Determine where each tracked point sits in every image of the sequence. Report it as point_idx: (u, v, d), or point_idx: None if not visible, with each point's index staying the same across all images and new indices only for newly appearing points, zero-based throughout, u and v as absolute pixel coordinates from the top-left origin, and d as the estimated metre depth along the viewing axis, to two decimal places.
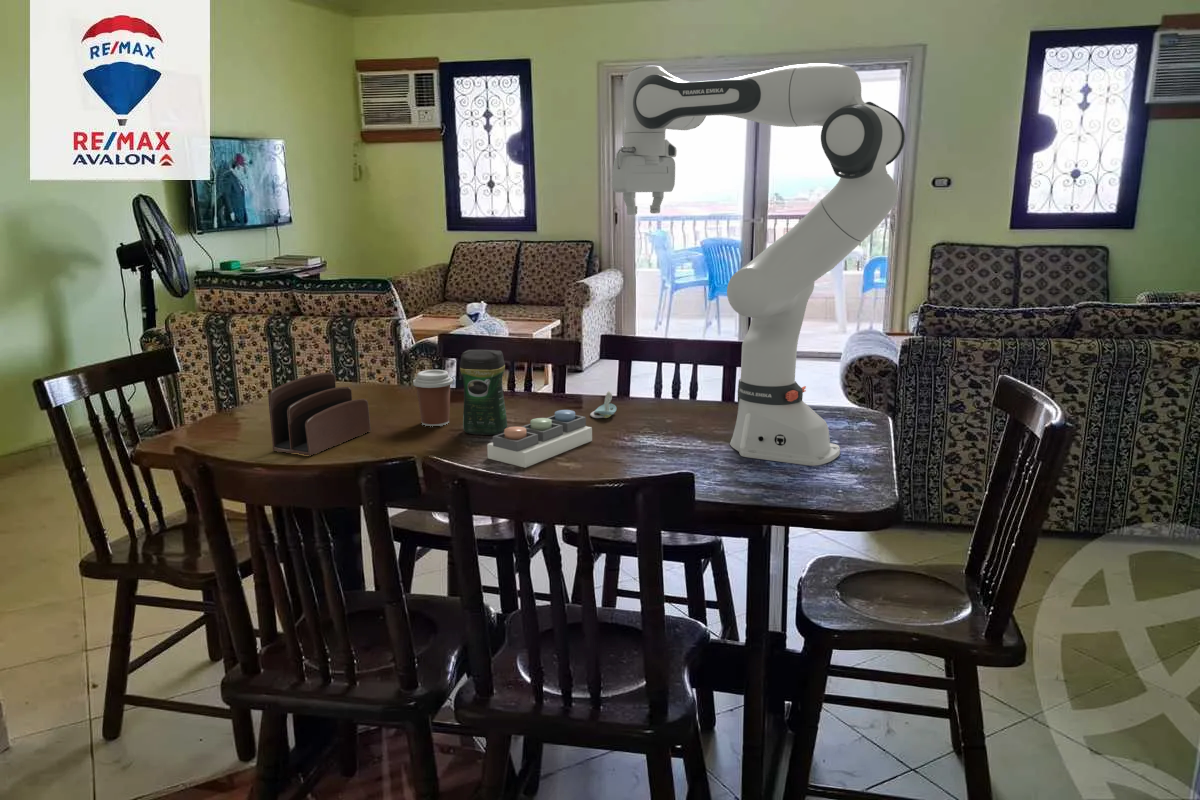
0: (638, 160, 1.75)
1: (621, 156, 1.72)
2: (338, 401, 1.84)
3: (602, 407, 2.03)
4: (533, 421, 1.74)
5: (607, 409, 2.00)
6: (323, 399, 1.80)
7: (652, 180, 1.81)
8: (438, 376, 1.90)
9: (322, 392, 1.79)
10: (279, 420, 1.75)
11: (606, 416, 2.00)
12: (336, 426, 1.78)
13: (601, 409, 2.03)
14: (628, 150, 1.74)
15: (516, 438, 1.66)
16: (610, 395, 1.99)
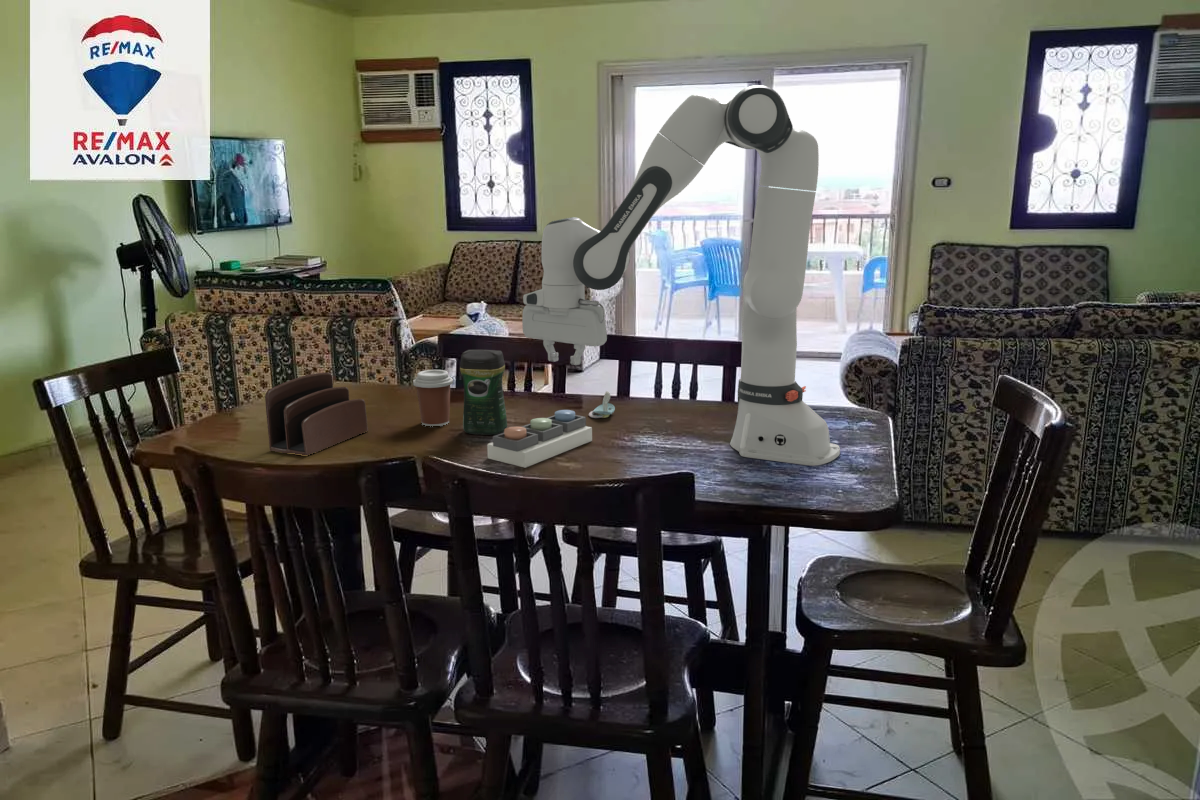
0: None
1: None
2: (335, 401, 1.84)
3: (600, 407, 2.03)
4: (533, 421, 1.74)
5: (605, 409, 2.00)
6: (320, 399, 1.80)
7: None
8: (438, 376, 1.90)
9: (319, 392, 1.79)
10: (276, 420, 1.75)
11: (604, 416, 2.00)
12: (333, 426, 1.78)
13: (599, 409, 2.03)
14: None
15: (516, 438, 1.66)
16: (608, 395, 1.99)
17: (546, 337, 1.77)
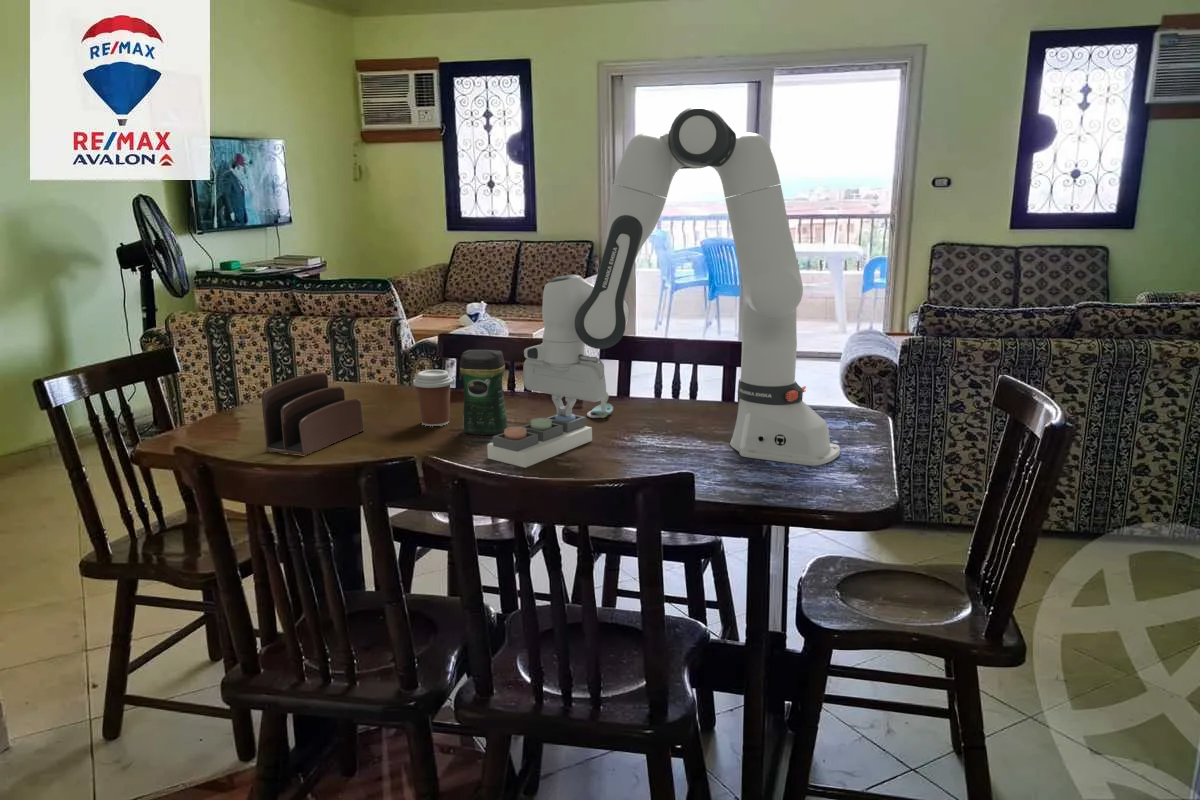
0: None
1: None
2: (331, 401, 1.85)
3: (599, 407, 2.04)
4: (533, 421, 1.74)
5: (604, 409, 2.00)
6: (316, 399, 1.80)
7: None
8: (438, 376, 1.90)
9: (315, 392, 1.79)
10: (272, 420, 1.75)
11: (603, 416, 2.00)
12: (329, 426, 1.78)
13: (598, 409, 2.03)
14: None
15: (516, 438, 1.66)
16: (606, 395, 1.99)
17: (546, 390, 1.80)
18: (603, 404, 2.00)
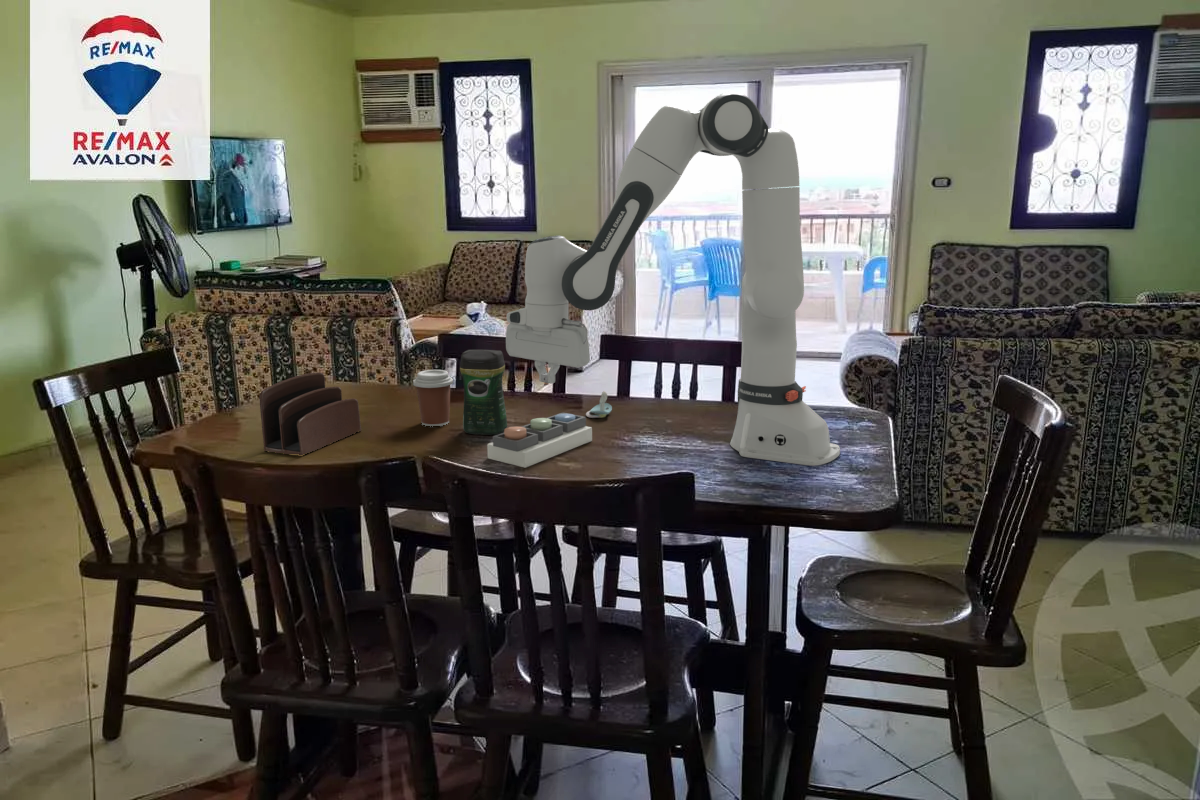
0: None
1: None
2: (328, 401, 1.85)
3: (597, 407, 2.04)
4: (533, 421, 1.74)
5: (602, 409, 2.00)
6: (314, 399, 1.80)
7: None
8: (438, 376, 1.90)
9: (313, 392, 1.80)
10: (270, 420, 1.75)
11: (601, 416, 2.00)
12: (327, 426, 1.78)
13: (596, 409, 2.03)
14: None
15: (516, 438, 1.66)
16: (605, 395, 1.99)
17: (529, 356, 1.74)
18: (602, 404, 2.00)
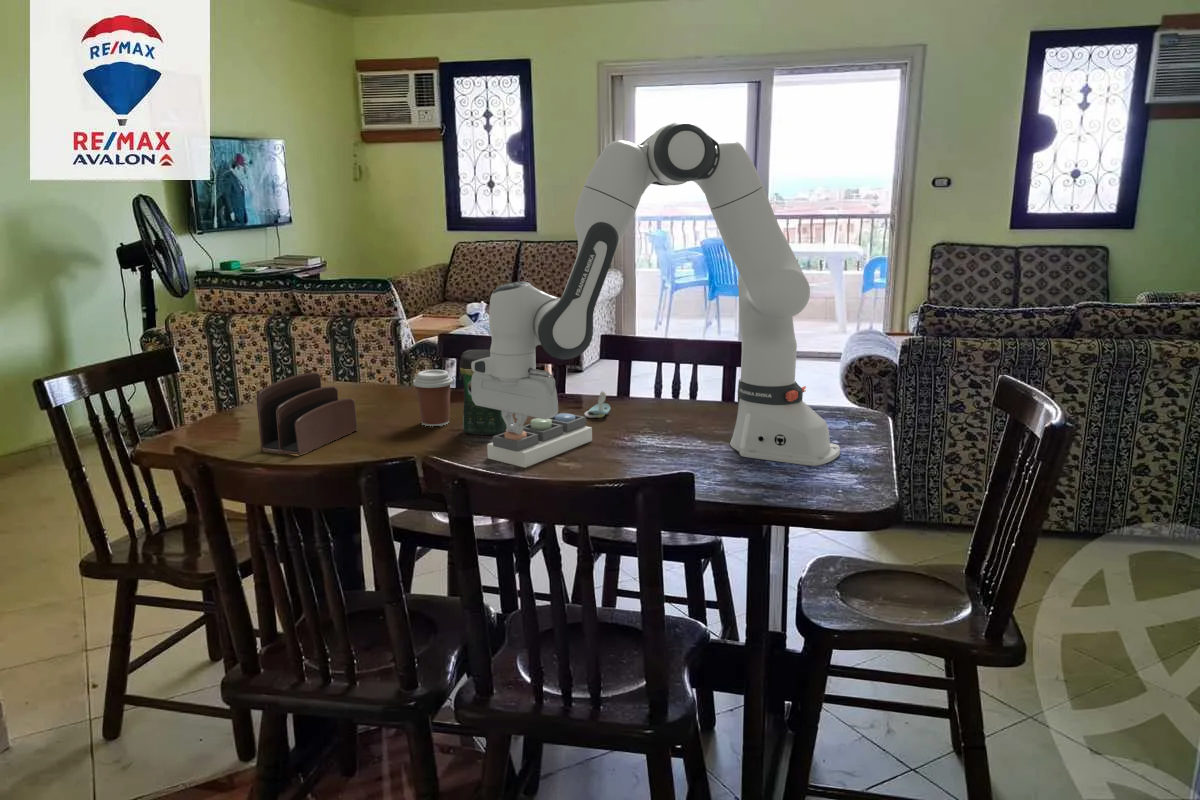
0: None
1: None
2: (325, 401, 1.85)
3: (596, 407, 2.04)
4: (533, 421, 1.74)
5: (601, 409, 2.00)
6: (310, 399, 1.80)
7: None
8: (438, 376, 1.90)
9: (309, 392, 1.80)
10: (267, 420, 1.75)
11: (600, 416, 2.00)
12: (324, 426, 1.78)
13: (595, 409, 2.03)
14: None
15: None
16: (604, 395, 2.00)
17: (495, 406, 1.67)
18: (600, 404, 2.00)
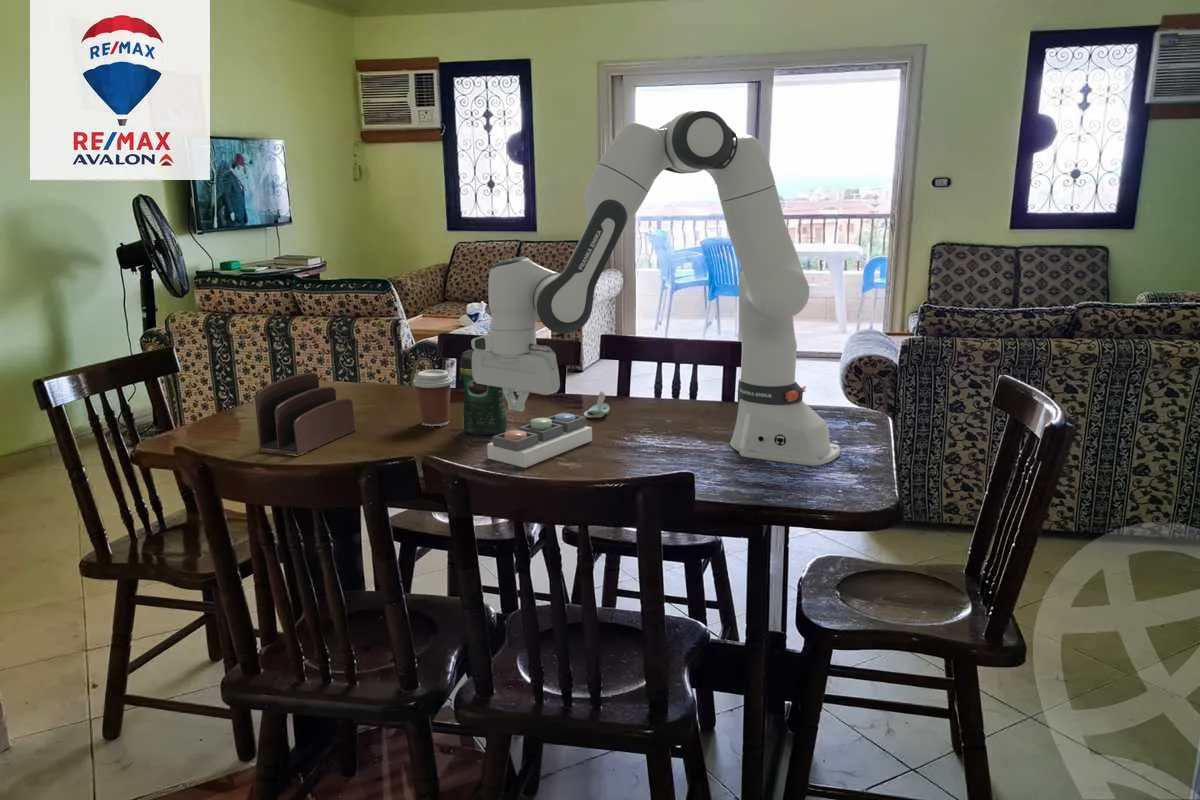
0: None
1: None
2: (323, 401, 1.85)
3: (595, 407, 2.04)
4: (533, 421, 1.74)
5: (600, 409, 2.00)
6: (309, 399, 1.80)
7: None
8: (438, 376, 1.90)
9: (308, 392, 1.80)
10: (265, 420, 1.75)
11: (599, 416, 2.00)
12: (323, 425, 1.78)
13: (594, 409, 2.03)
14: None
15: None
16: (603, 395, 2.00)
17: (496, 384, 1.66)
18: (600, 404, 2.00)
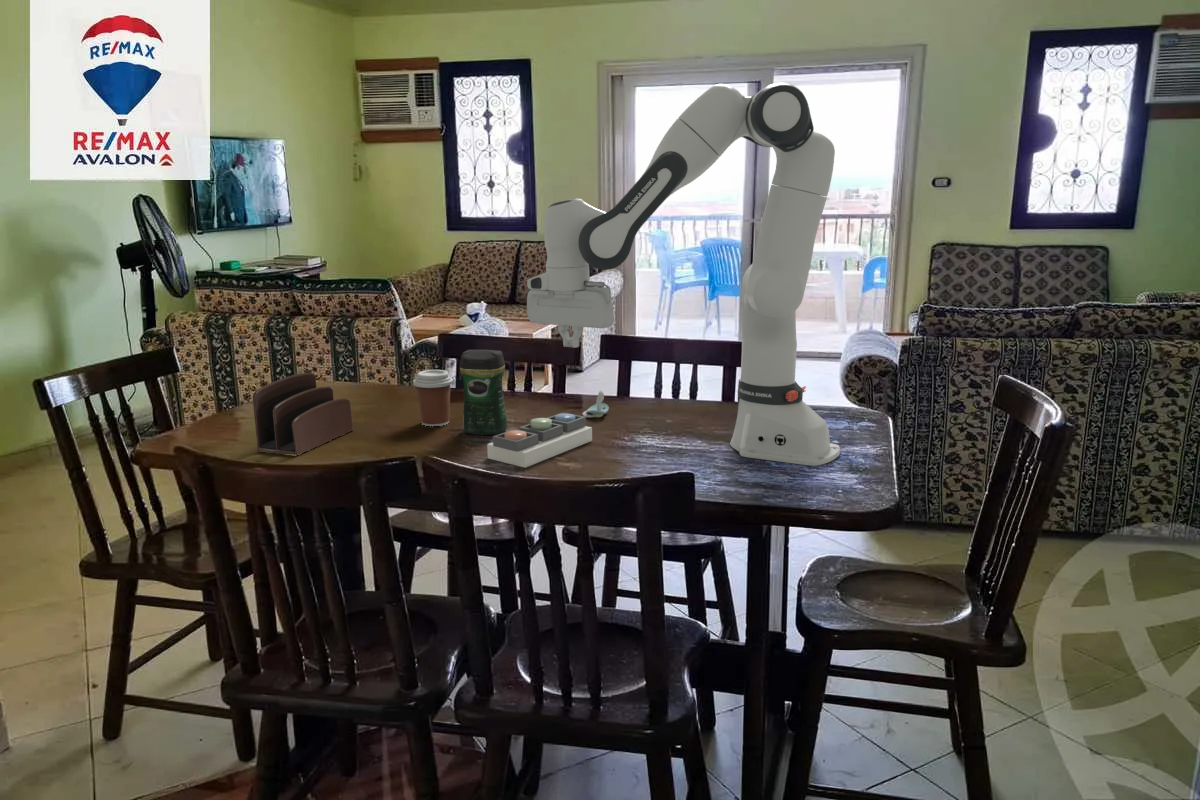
0: None
1: None
2: (320, 401, 1.85)
3: (594, 407, 2.04)
4: (533, 421, 1.74)
5: (599, 408, 2.00)
6: (306, 399, 1.80)
7: None
8: (438, 376, 1.90)
9: (305, 392, 1.80)
10: (263, 420, 1.74)
11: (598, 415, 2.00)
12: (321, 425, 1.78)
13: (593, 409, 2.03)
14: None
15: None
16: (602, 394, 2.00)
17: (552, 321, 1.75)
18: (599, 404, 2.00)
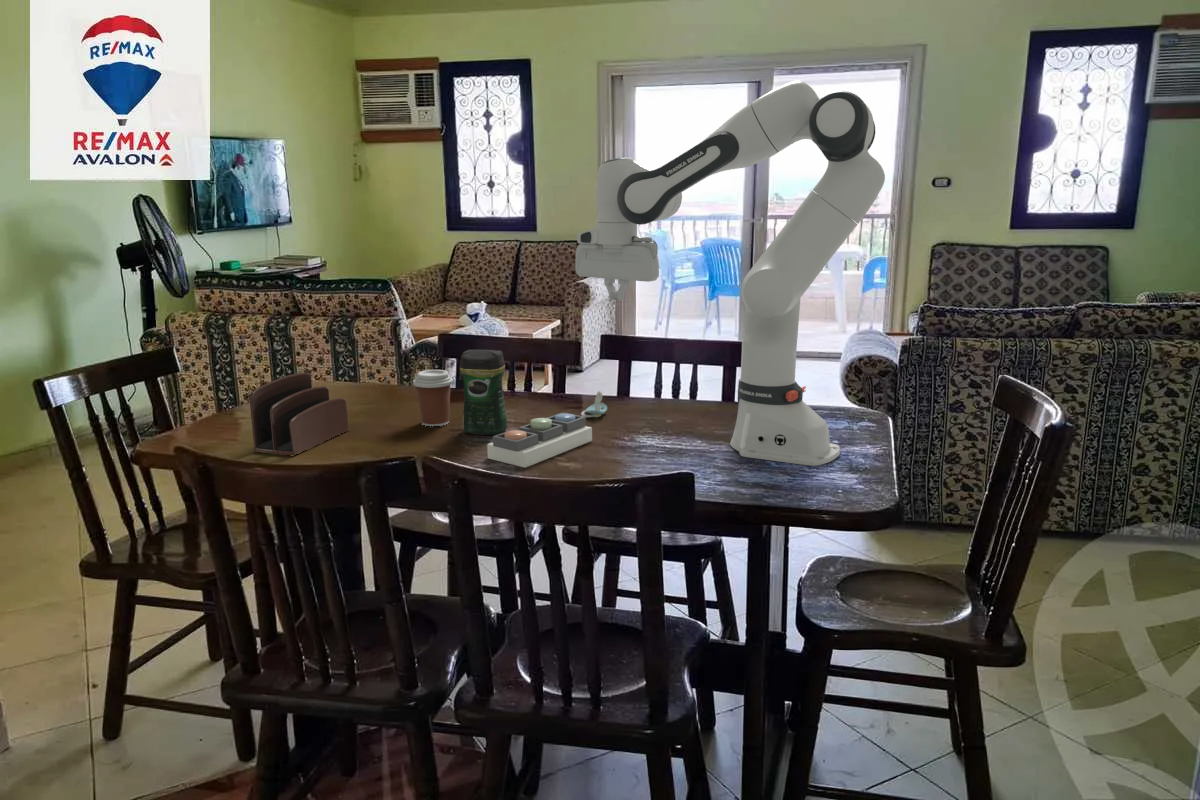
0: None
1: None
2: (316, 401, 1.85)
3: (593, 406, 2.04)
4: (533, 421, 1.74)
5: (597, 408, 2.00)
6: (303, 399, 1.80)
7: None
8: (438, 376, 1.90)
9: (302, 392, 1.80)
10: (260, 421, 1.74)
11: (596, 415, 2.00)
12: (318, 425, 1.78)
13: (592, 408, 2.03)
14: None
15: None
16: (600, 394, 2.00)
17: (599, 275, 1.84)
18: (597, 404, 2.00)
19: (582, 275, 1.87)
